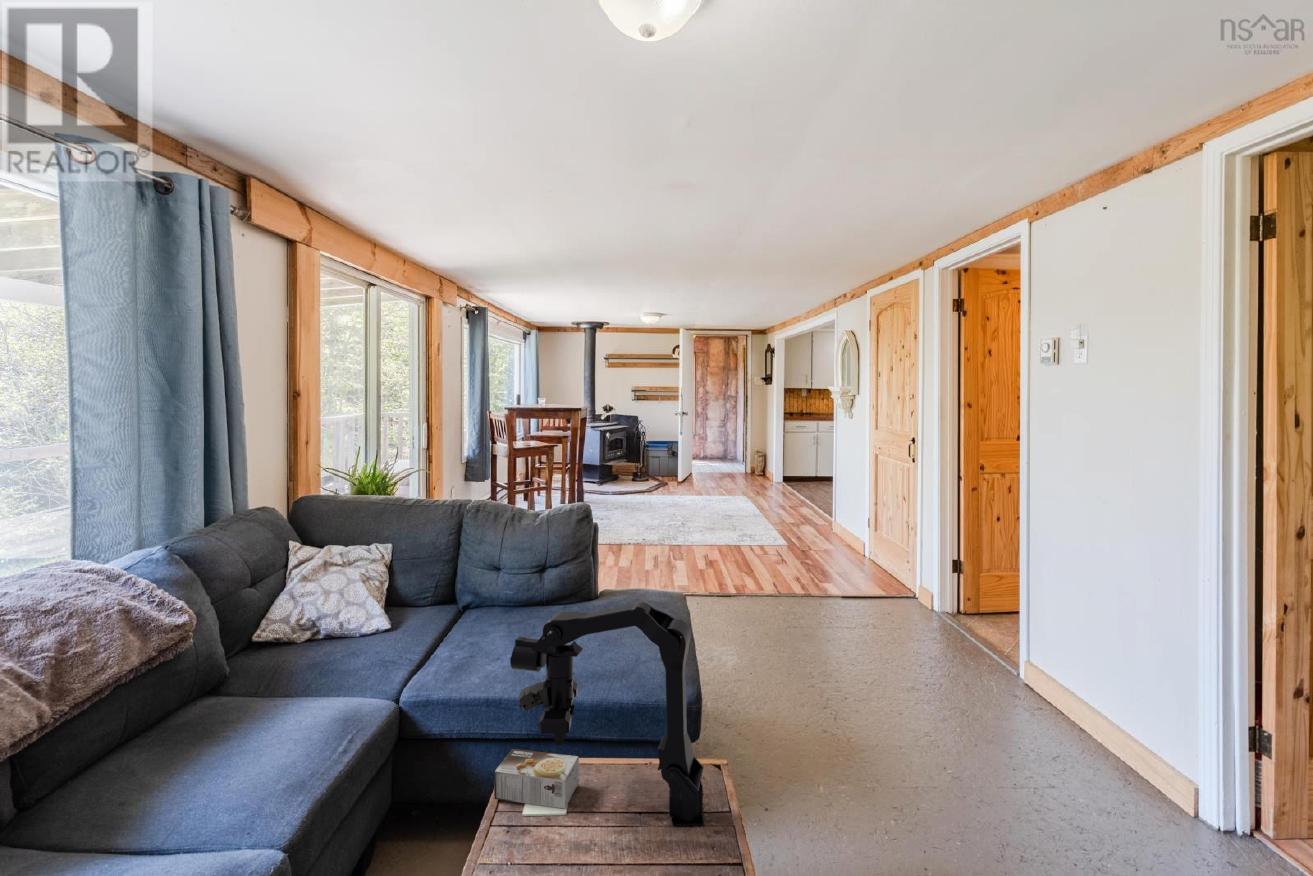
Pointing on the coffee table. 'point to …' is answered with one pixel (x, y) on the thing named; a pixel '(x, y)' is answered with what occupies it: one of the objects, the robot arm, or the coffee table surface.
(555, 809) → the pad
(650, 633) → the robot arm
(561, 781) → the coffee box
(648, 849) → the coffee table surface
